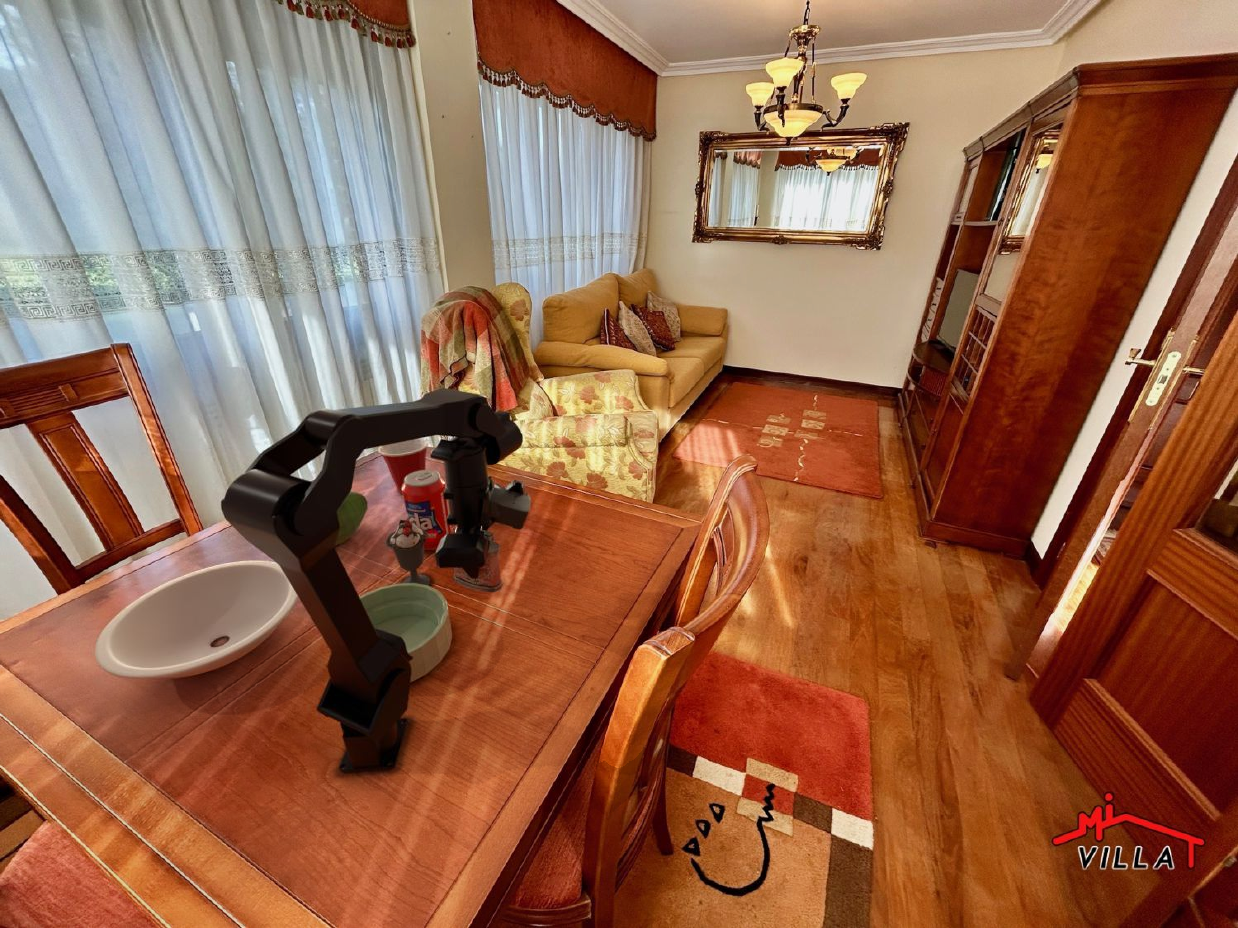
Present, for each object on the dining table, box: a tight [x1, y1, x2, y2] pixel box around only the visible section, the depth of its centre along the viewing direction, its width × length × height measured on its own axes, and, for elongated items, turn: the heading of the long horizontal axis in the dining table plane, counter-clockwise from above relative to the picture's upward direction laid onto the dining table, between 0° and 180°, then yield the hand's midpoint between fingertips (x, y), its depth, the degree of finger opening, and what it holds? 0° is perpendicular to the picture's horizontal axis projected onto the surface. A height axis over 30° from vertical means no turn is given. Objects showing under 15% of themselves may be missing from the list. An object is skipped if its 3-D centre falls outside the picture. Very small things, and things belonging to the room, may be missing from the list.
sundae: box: [385, 517, 431, 586], centre depth 87 cm, size 7×7×15 cm
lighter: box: [453, 526, 503, 594], centre depth 76 cm, size 8×3×10 cm, turn 71°
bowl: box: [359, 582, 453, 684], centre depth 76 cm, size 16×16×6 cm
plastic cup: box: [377, 438, 429, 496], centre depth 118 cm, size 11×11×12 cm
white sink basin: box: [94, 559, 299, 680], centre depth 75 cm, size 24×24×7 cm
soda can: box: [402, 469, 453, 551], centre depth 98 cm, size 8×8×15 cm
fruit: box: [335, 491, 369, 547], centre depth 100 cm, size 15×10×10 cm, turn 163°
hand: (477, 568), depth 76 cm, fingers closed on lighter, 4 cm apart
